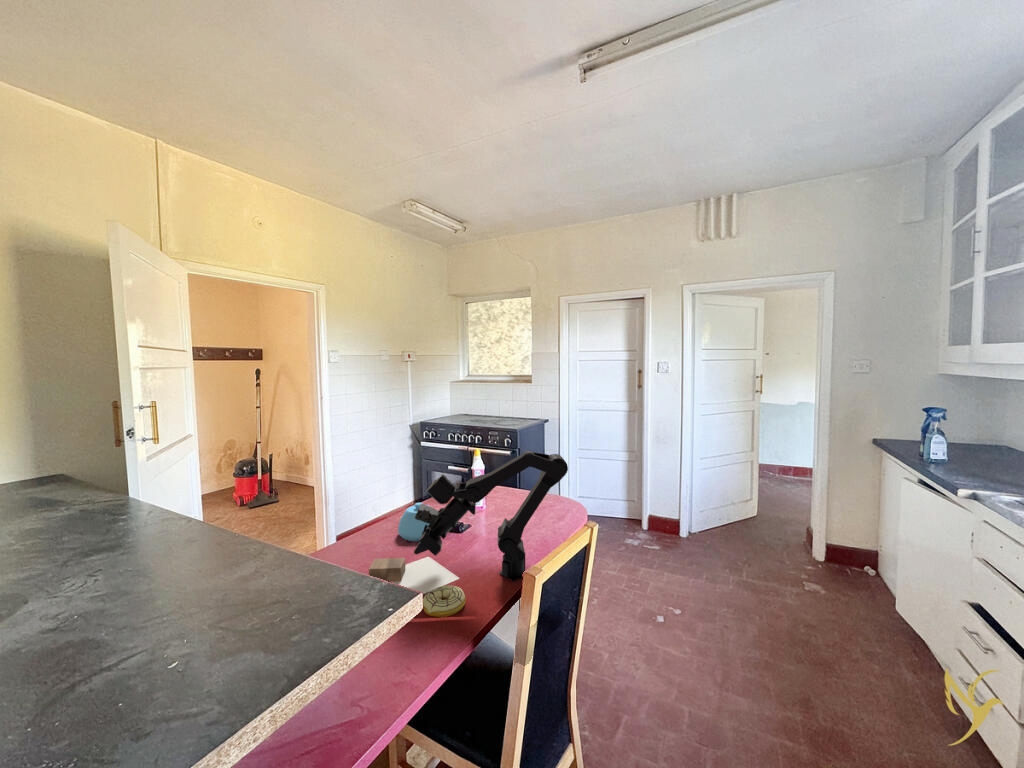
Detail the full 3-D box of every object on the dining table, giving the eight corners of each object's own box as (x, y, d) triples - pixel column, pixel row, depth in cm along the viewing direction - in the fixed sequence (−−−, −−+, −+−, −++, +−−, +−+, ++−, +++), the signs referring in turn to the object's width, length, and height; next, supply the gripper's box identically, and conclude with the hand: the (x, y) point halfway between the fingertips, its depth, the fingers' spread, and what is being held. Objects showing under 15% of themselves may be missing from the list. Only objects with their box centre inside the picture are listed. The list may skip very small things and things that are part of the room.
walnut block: (405, 557, 120) (374, 558, 120) (400, 567, 114) (368, 569, 114) (405, 570, 120) (375, 571, 120) (401, 581, 114) (369, 582, 114)
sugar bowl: (416, 547, 138) (415, 514, 137) (389, 536, 147) (389, 505, 146) (448, 532, 150) (447, 502, 149) (421, 523, 159) (421, 494, 158)
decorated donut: (420, 601, 106) (419, 587, 106) (459, 592, 110) (459, 579, 110) (426, 625, 96) (426, 609, 96) (469, 614, 100) (469, 600, 100)
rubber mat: (428, 558, 129) (428, 556, 129) (459, 580, 116) (459, 578, 116) (380, 575, 119) (380, 573, 119) (409, 602, 105) (409, 600, 105)
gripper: (435, 486, 126) (401, 522, 126) (426, 507, 108) (386, 549, 107) (461, 509, 127) (427, 545, 127) (456, 534, 108) (417, 576, 108)
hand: (415, 553), depth 117 cm, fingers closed
